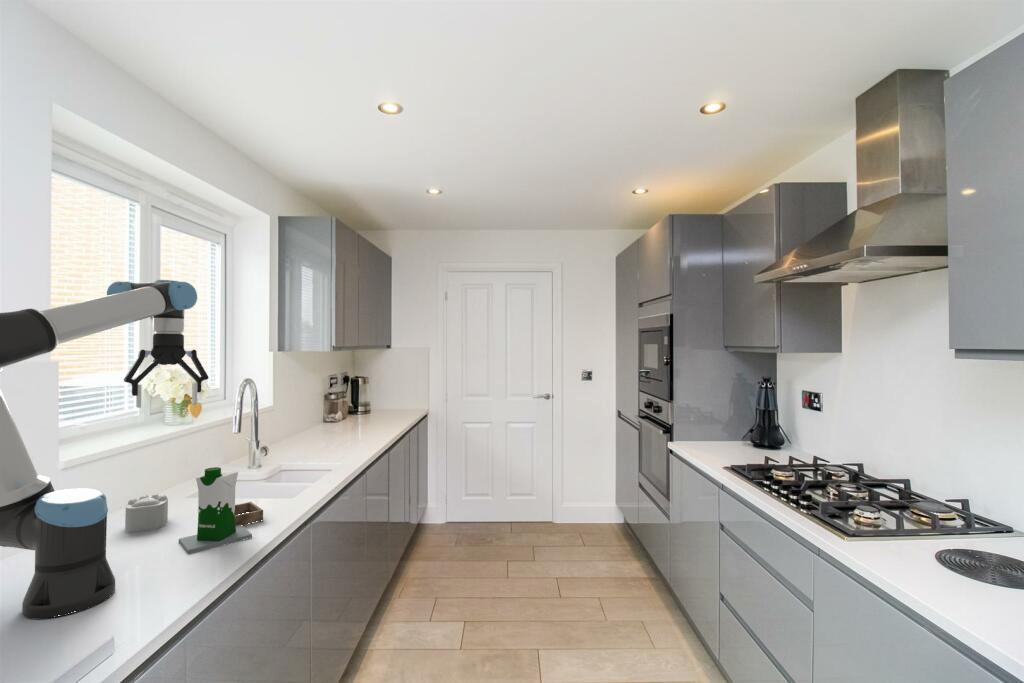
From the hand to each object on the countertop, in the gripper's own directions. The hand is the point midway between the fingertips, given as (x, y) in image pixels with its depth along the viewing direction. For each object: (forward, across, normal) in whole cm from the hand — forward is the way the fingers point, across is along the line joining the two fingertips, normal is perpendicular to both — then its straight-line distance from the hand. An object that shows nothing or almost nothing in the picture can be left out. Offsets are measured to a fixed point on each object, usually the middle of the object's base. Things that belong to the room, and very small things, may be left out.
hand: (167, 405), depth 143 cm
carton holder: (+39, -19, -1) cm, 43 cm away
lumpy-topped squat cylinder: (+39, +2, -18) cm, 43 cm away
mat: (+39, -10, +12) cm, 42 cm away
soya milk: (+38, -10, +12) cm, 41 cm away
